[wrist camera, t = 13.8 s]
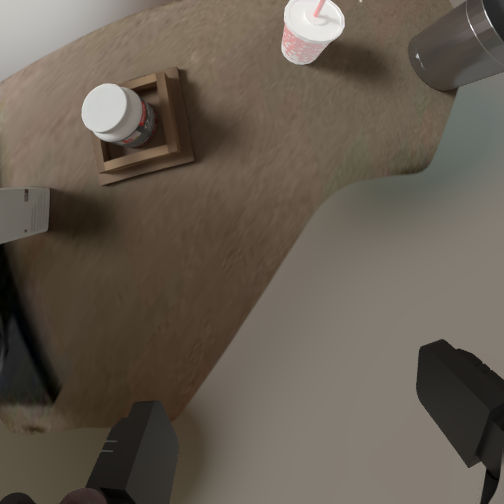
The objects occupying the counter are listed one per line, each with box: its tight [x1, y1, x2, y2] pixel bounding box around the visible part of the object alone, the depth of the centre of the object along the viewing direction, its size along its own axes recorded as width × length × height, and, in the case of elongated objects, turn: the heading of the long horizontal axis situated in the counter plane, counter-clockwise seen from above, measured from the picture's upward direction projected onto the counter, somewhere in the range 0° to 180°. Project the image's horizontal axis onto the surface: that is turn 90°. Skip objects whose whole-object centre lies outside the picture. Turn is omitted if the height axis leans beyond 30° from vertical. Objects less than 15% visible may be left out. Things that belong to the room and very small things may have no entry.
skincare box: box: [0, 187, 50, 244], centre depth 30 cm, size 6×4×12 cm
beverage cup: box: [282, 0, 345, 65], centre depth 26 cm, size 6×6×14 cm
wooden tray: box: [87, 67, 195, 186], centre depth 33 cm, size 12×12×4 cm
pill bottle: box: [82, 84, 158, 148], centre depth 29 cm, size 6×6×10 cm
